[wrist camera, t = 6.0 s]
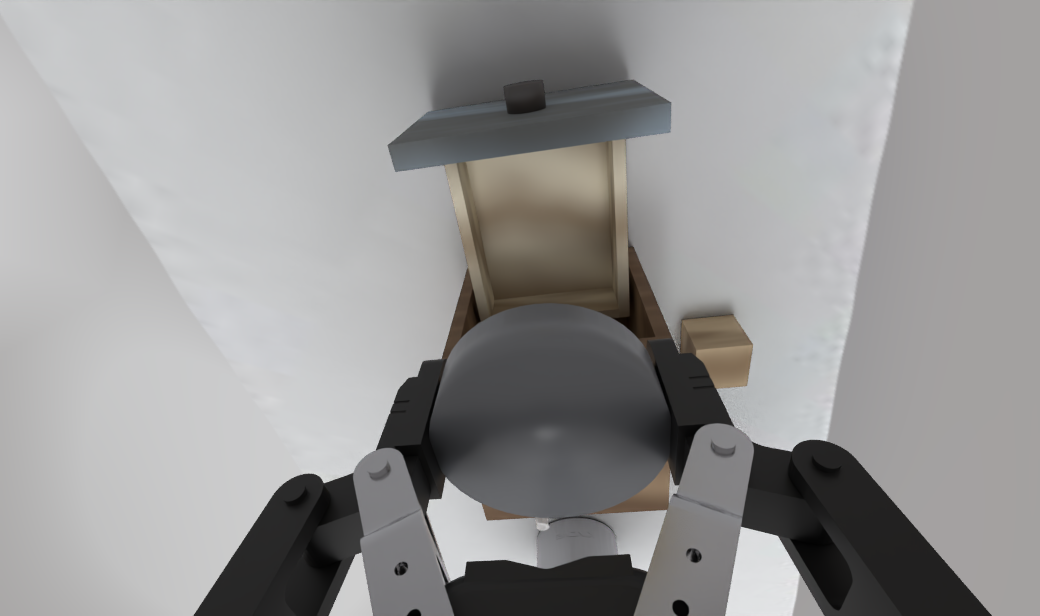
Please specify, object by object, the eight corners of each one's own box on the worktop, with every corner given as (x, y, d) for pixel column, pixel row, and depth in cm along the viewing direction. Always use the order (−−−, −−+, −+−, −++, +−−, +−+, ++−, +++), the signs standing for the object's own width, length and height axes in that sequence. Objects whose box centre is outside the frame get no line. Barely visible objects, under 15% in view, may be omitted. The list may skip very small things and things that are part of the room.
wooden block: (728, 354, 39) (746, 385, 35) (680, 358, 39) (693, 390, 36) (733, 314, 36) (753, 344, 33) (681, 319, 37) (696, 350, 34)
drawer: (636, 286, 34) (664, 362, 27) (473, 304, 36) (456, 381, 28) (632, 56, 26) (672, 71, 19) (423, 90, 28) (379, 117, 20)
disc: (658, 291, 12) (678, 336, 10) (654, 456, 15) (669, 511, 13) (418, 315, 12) (399, 363, 11) (465, 469, 16) (457, 523, 14)
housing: (635, 388, 41) (668, 509, 31) (499, 400, 42) (486, 520, 32) (633, 246, 34) (674, 344, 23) (467, 266, 35) (439, 367, 25)
